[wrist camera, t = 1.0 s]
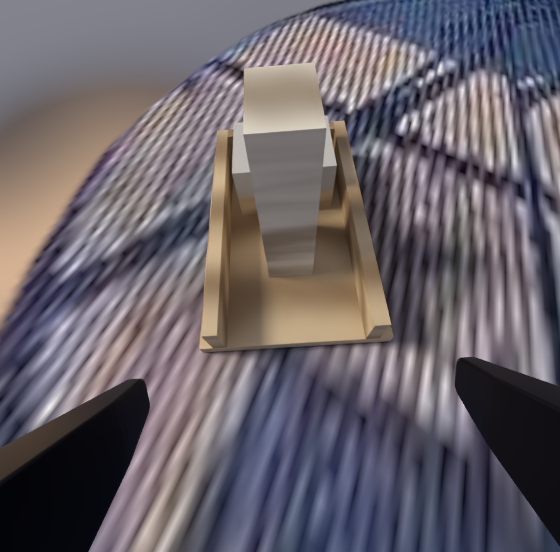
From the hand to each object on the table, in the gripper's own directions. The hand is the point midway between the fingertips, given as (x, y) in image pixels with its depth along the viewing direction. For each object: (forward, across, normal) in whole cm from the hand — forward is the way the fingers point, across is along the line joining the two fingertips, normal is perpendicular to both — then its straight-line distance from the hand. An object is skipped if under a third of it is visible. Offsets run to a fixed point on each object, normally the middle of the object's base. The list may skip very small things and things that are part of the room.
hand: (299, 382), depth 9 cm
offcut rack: (+19, 0, -2) cm, 19 cm away
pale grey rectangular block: (+17, 0, -1) cm, 17 cm away
